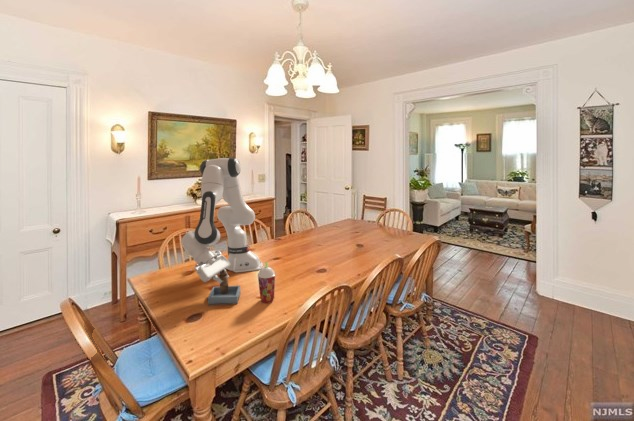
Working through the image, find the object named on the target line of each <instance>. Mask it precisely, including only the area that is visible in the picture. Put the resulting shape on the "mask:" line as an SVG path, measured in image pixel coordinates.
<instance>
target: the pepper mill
mask: <svg viewBox="0 0 634 421" xmlns="http://www.w3.org/2000/svg"><path fill="white" fill-rule="evenodd" d="M228 275H229V274H228V271H227V269H226V270H224V269H223V270H222V271H220V273H219V274H218V277H219V278H220V279H221V278H222V280H223V282H222V283H221V284H219V287H220V294H227V293H229V289H228V286H229V278H228Z"/></svg>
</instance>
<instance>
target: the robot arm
mask: <svg viewBox="0 0 634 421" xmlns="http://www.w3.org/2000/svg"><path fill="white" fill-rule="evenodd" d="M199 170H200V174H201V176H202V178H201V182H200V183H201V184H200V185H201V186H200V194H201V205H200V216H199V220H198V223H197V225H196V227H195V230H189V231H187V232H185V233H184V235H182V237H181V239H180V243H181V246H182V248H183V250H185V252H186V253H187V254H188V255H189V256H190V257H191V258H192V259H193V261H194V262H195V263H196V264H195V266H194V270H195V272H196V274H197V275H198V277H199V278H200V280H201V281H202V282H203V283H207V282H209V281H210V280H211V279H212V280H214V281H216V282H218V284H219V285H220V284H221V283H222V282H223V280H222V278H221V279H220V278H219V275H220V271H222V270H223V269H224V270H226V271H227V270H228V271H231V272H233V273H243V272H252V271H253V272H255V271H260V270H261V269H262V268H264V263H263V262H262V261H261V260H260V257H259V256H258V254H256V253H255V252H253V251H251V246H250V245H248V244H247V233H246V231H245V230H243V229H242V227H241V226H249V225H252V224H253V223H254V221H255V220H256V213H255V211H254V210H253V209H252V208H251V207H250V206H249V205H248V204H247V203H246V201H245V200H244V196H243V194H242V191H241V185H240V181H239V177H238V176H239V174H240V173H241V164H240V161H239V160H238V159H237V158H236V157H220V158H212V159H205V160H203V161H202V162H201V163H200V166H199ZM221 200H223V201H224V202H225V203H227V204H228V205H224V206H220V207H219V208H218V209H217V212H216V216H217V219H218V222H220V223H221V224H222V226H223V227H224V229H225V232H226V234H227V255H228V258H227V257H226V256H224V255H223V254H222V252H221V251H220V250H211V249H210V248H211V247H213V246H214V245H216V244H218V242H220V239H221V232H220V230H219V229H218V228H216V225H215V209H216V205H217V203H218V202H220V201H221ZM229 278H230V275H229V274H228V279H229Z"/></svg>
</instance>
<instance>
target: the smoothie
mask: <svg viewBox="0 0 634 421" xmlns="http://www.w3.org/2000/svg"><path fill="white" fill-rule="evenodd" d="M267 263H268V261H265V266H263V268H262V269H260V270H258V271H259V272H258V273H257V279H258V280H257V281H258V291H259V298H260V301H261V302H262V303H264V304H270V303H273V301H274V299H275V289H276V287H275V286H276V272H275V271H274V269H273V268H271V267H270V266H268V264H267Z"/></svg>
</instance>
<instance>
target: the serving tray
mask: <svg viewBox="0 0 634 421" xmlns="http://www.w3.org/2000/svg"><path fill="white" fill-rule="evenodd" d="M228 289H229V293H227V294H220V286H212V288H211V290H210V293H209V295H208V297H207V306H220V305H221V306H224V305H237V304H238V303H239V299H240V296H241V290H242V289H241V285H228Z"/></svg>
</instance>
